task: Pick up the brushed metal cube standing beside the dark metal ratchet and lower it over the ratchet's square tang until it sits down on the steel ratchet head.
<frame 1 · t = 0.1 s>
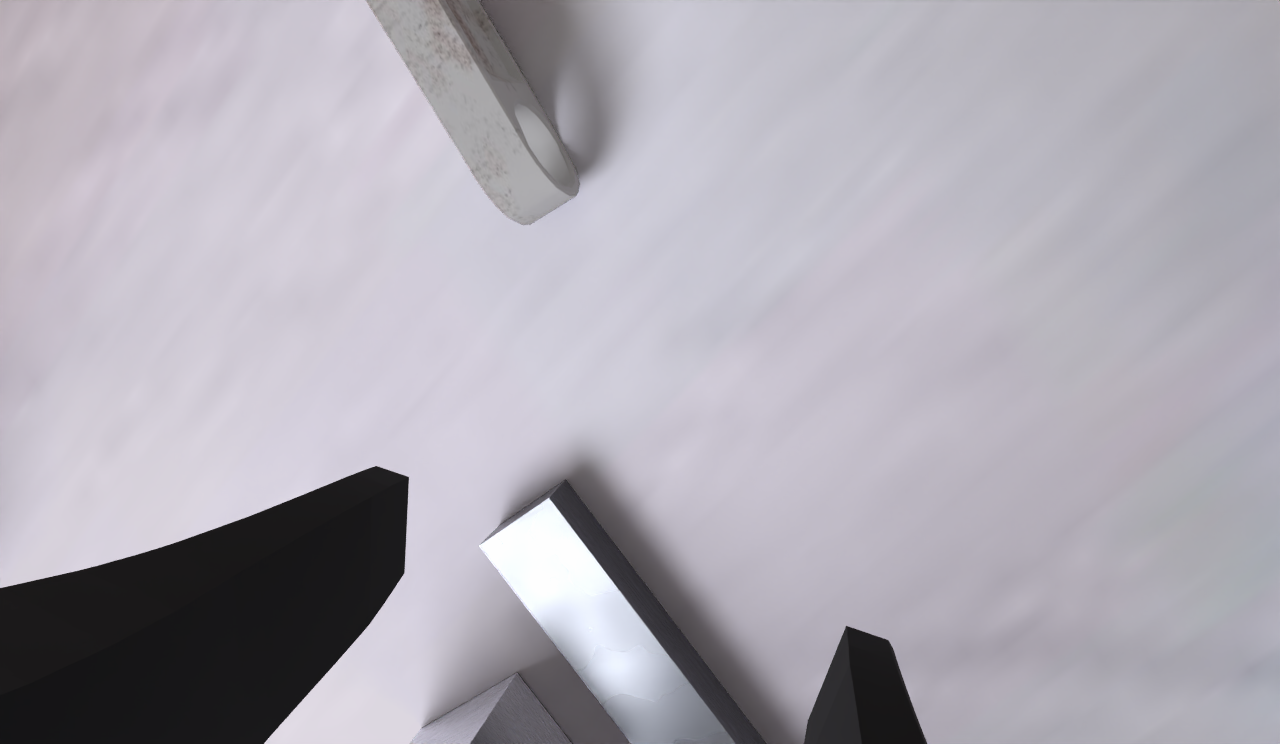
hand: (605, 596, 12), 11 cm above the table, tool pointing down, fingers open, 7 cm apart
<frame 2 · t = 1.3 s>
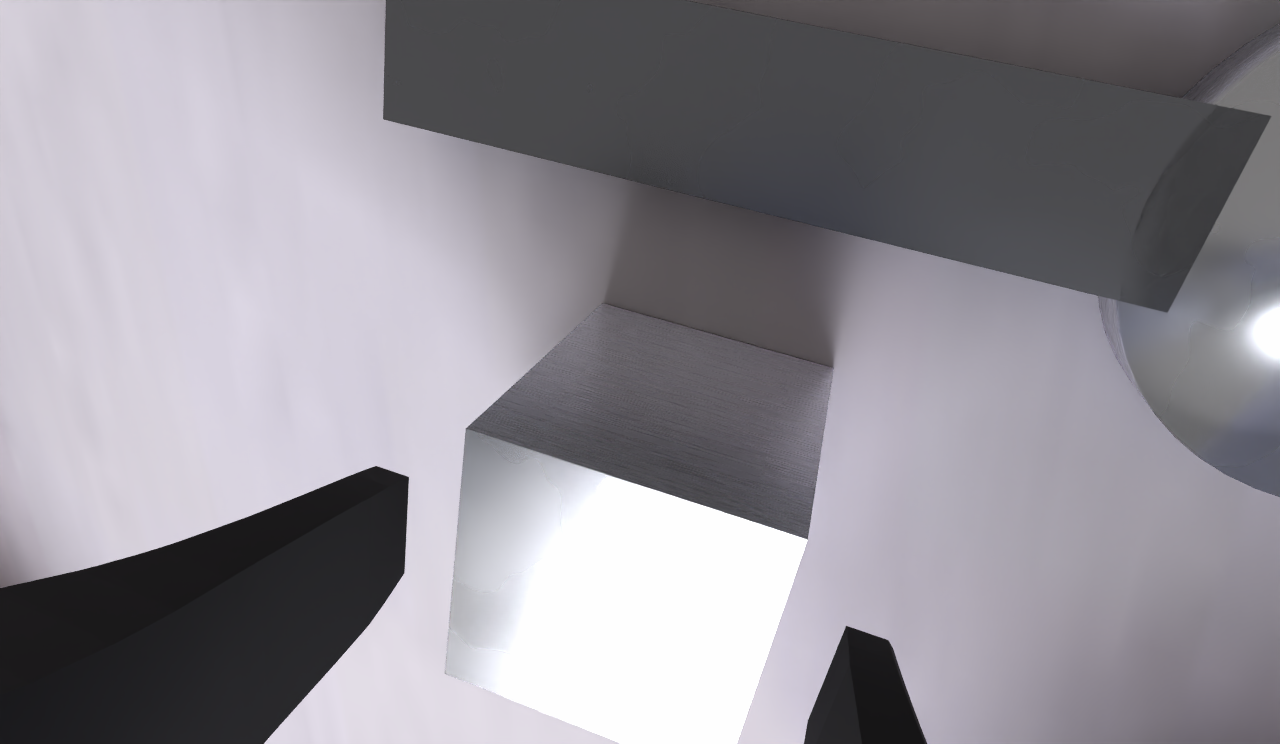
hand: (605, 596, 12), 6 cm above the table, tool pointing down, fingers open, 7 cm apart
brushed metal cube: (690, 436, 17), on the table
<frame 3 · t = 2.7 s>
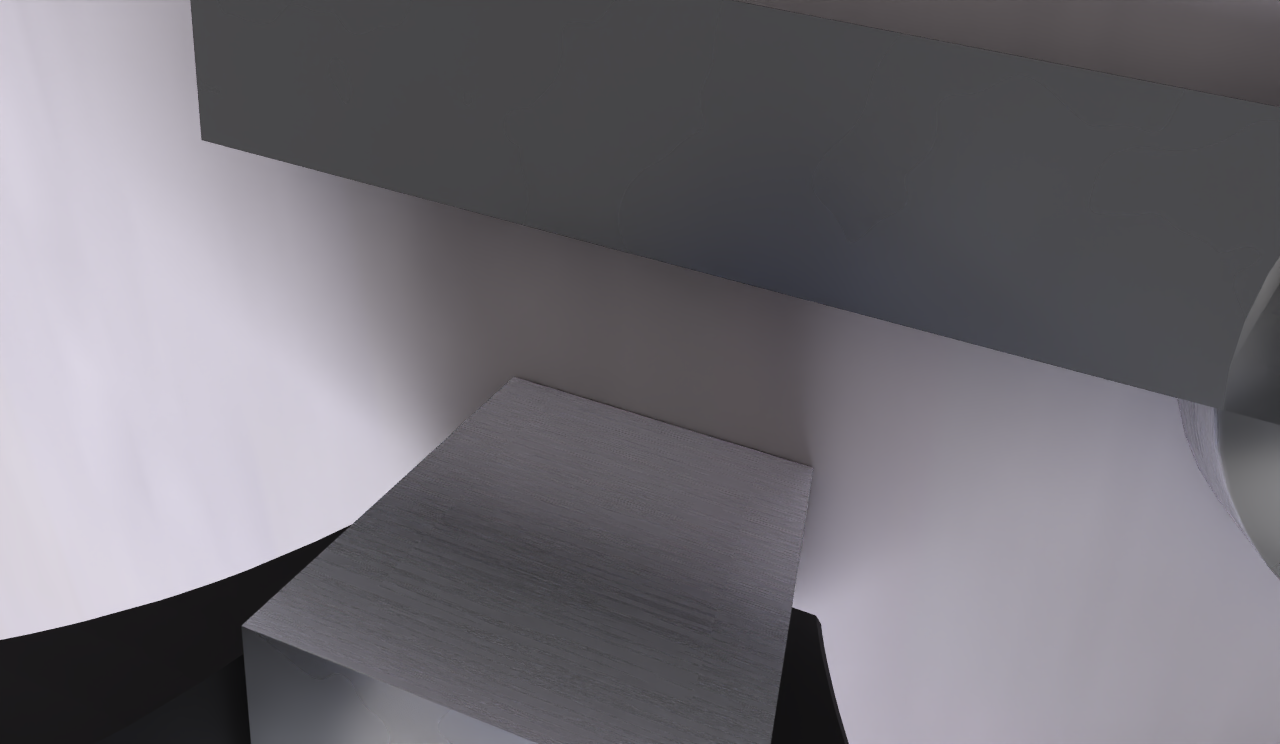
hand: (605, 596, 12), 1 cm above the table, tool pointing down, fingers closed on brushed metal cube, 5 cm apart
brushed metal cube: (631, 543, 13), on the table, touching gripper
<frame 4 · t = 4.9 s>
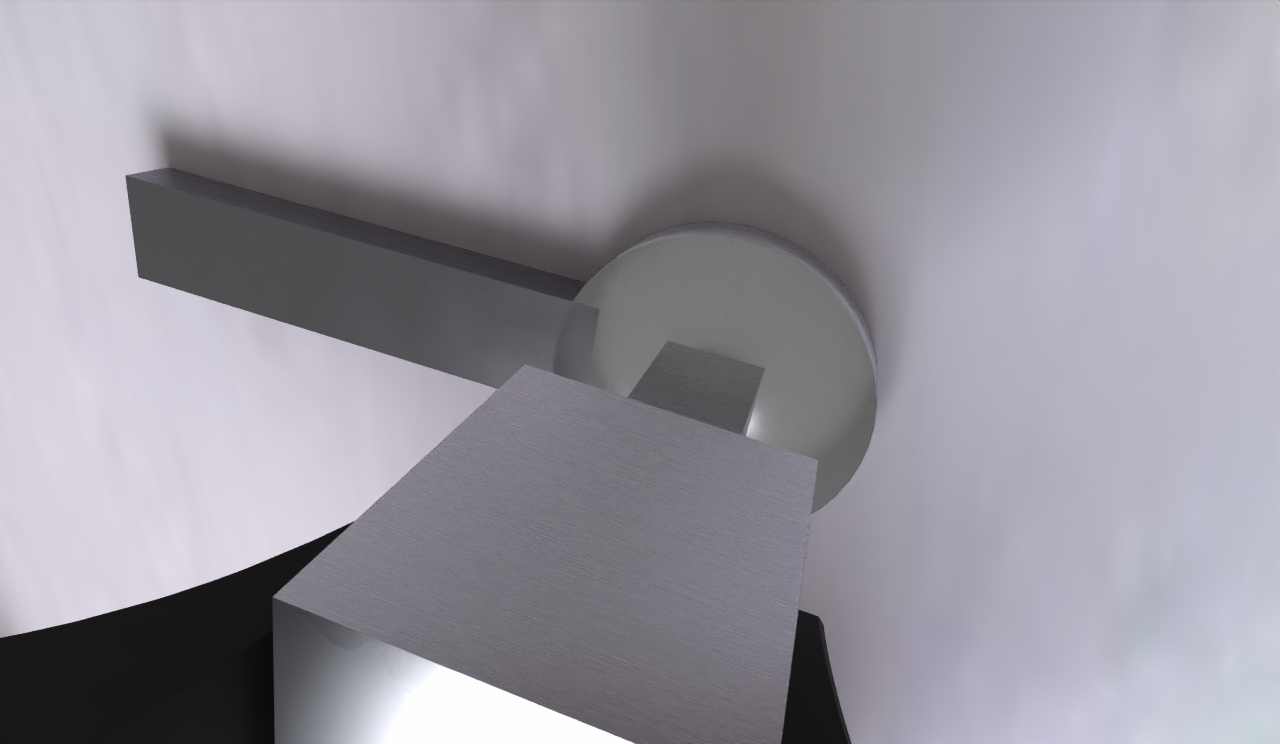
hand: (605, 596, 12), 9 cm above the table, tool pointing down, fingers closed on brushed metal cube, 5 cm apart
brushed metal cube: (635, 531, 13), point 7 cm above the table, touching gripper
ratchet: (716, 374, 20), on the table
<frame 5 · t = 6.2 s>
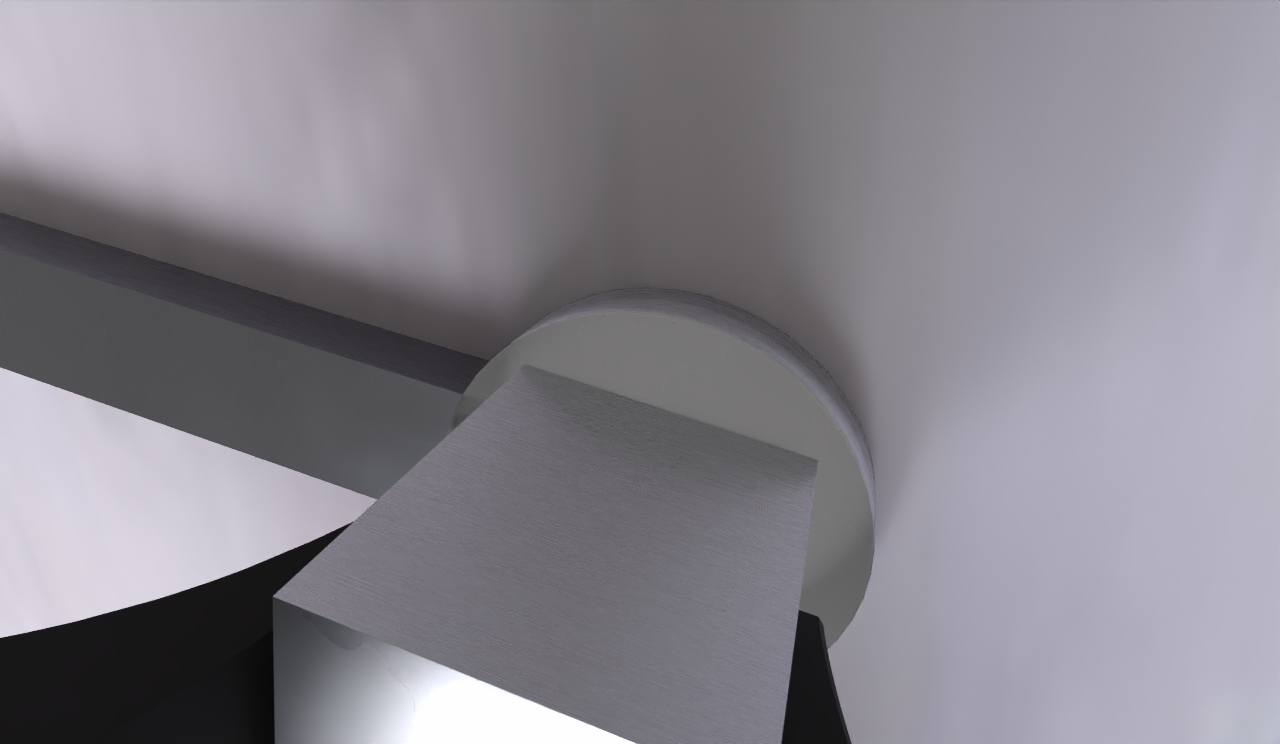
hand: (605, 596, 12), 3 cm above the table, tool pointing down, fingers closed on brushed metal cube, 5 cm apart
brushed metal cube: (635, 530, 13), point 2 cm above the table, touching gripper
ratchet: (663, 481, 15), on the table
when the fingers open (3 cm above the table, at t = 7.4 s): brushed metal cube stays where it is, resting on ratchet.
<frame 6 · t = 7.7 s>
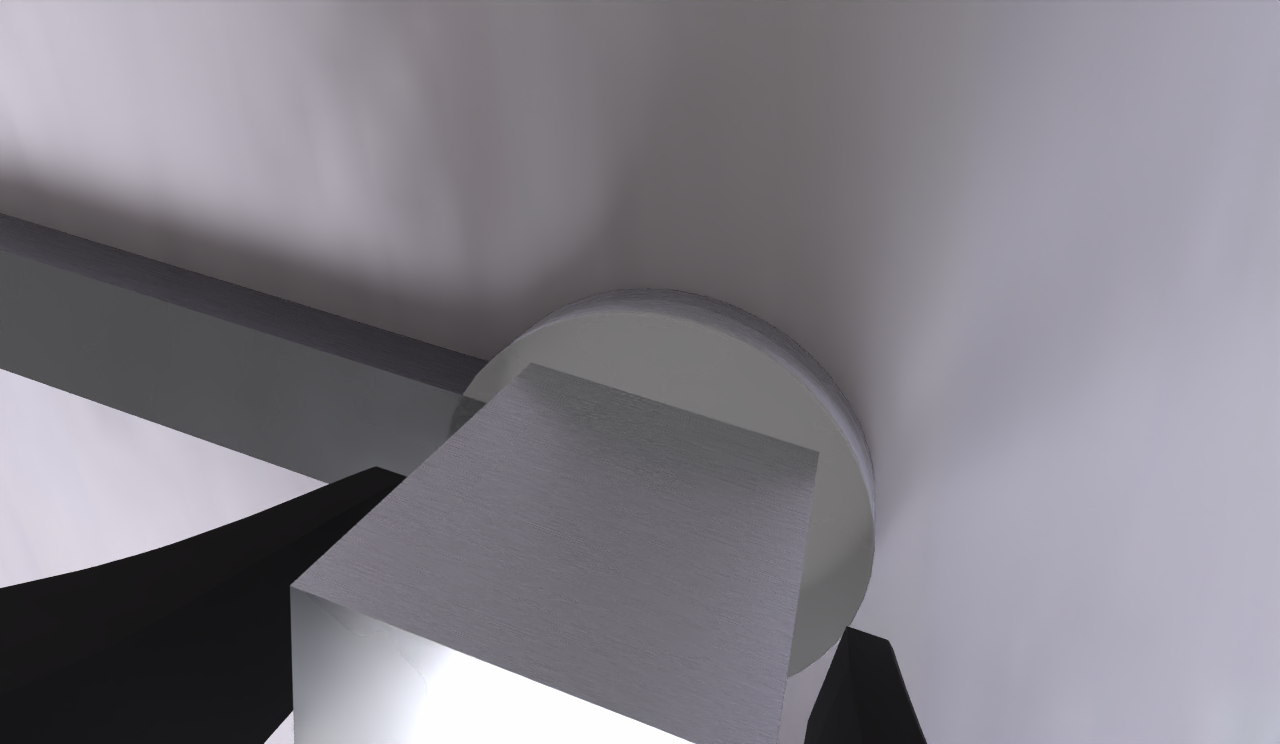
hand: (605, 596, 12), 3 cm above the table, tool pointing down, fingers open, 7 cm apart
brushed metal cube: (642, 524, 14), point 1 cm above the table, touching ratchet
ratchet: (663, 482, 15), on the table, touching brushed metal cube
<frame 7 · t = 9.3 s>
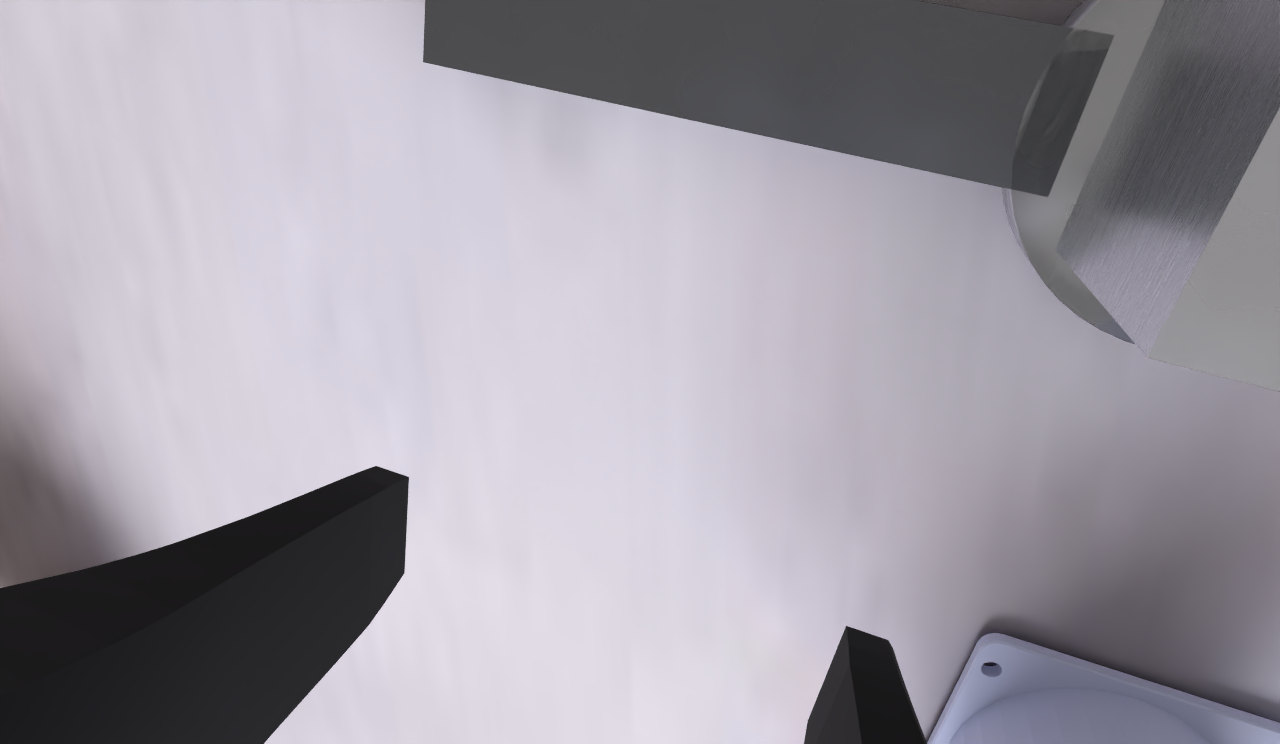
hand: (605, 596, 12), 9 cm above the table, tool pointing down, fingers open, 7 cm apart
brushed metal cube: (1254, 153, 14), point 1 cm above the table, touching ratchet
ratchet: (1219, 144, 15), on the table, touching brushed metal cube
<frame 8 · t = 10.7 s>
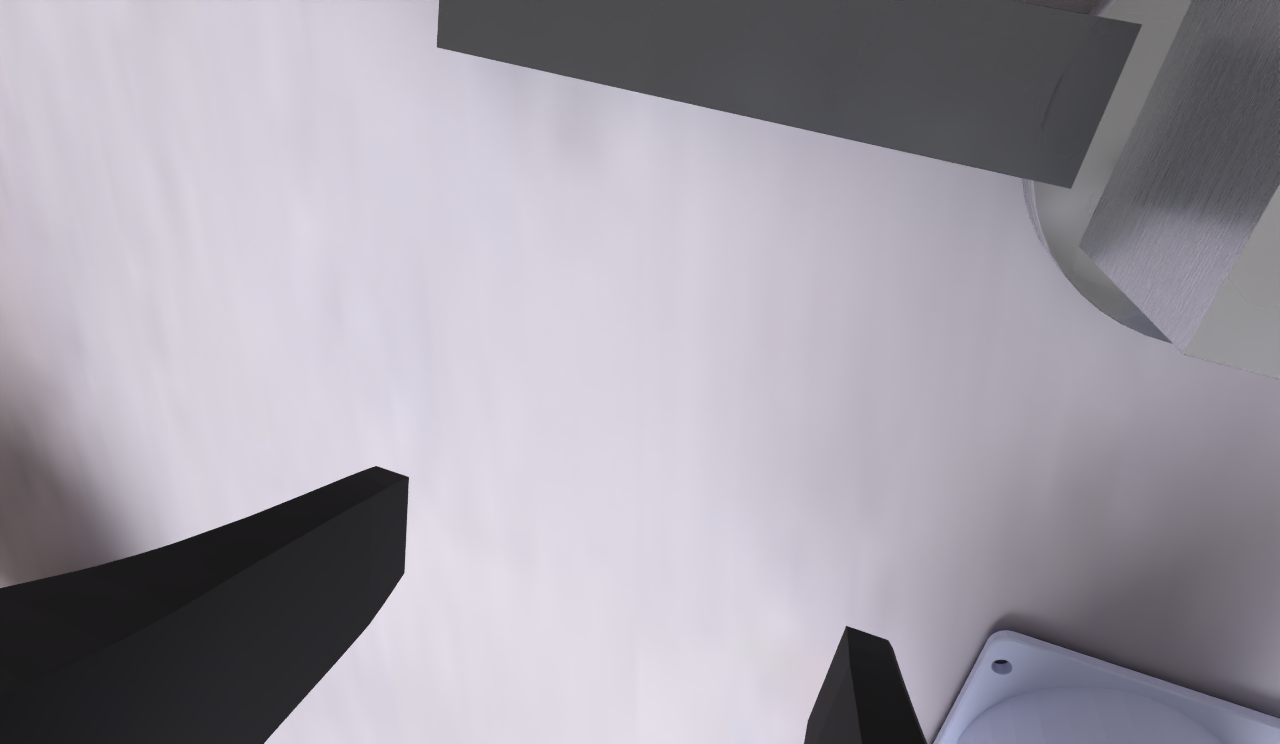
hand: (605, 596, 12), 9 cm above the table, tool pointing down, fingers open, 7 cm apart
ratchet: (1243, 137, 15), on the table, touching brushed metal cube
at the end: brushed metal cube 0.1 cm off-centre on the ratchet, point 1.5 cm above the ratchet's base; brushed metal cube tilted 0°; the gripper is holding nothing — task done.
